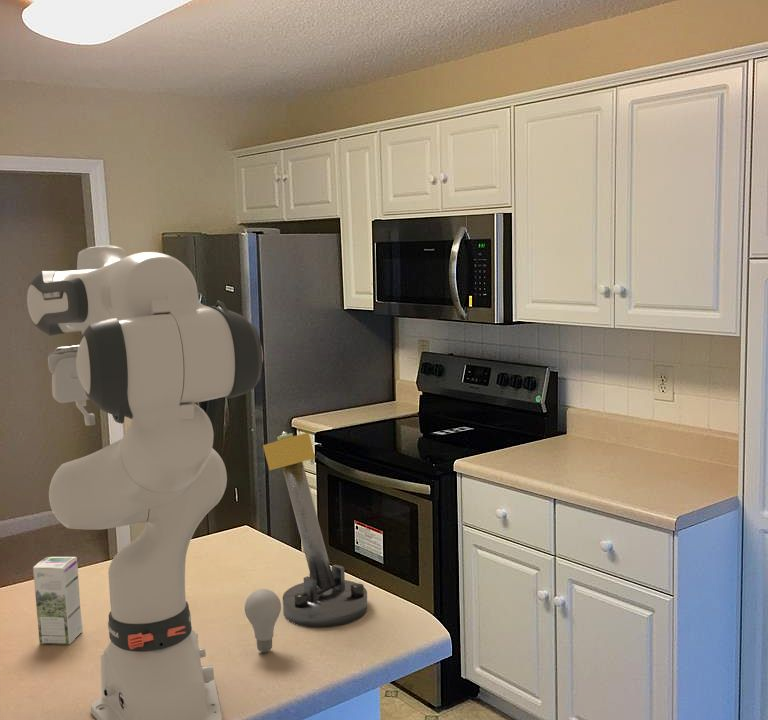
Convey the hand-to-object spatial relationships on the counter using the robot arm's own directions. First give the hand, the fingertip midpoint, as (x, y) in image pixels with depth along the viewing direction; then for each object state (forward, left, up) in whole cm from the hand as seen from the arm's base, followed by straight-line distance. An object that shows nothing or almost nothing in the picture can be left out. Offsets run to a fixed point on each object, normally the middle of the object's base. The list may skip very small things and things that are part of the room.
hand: (118, 420), depth 151 cm
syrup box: (+6, +11, -40) cm, 42 cm away
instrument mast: (-7, -35, -35) cm, 50 cm away
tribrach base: (-7, -35, -40) cm, 53 cm away
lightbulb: (-18, -19, -40) cm, 47 cm away
